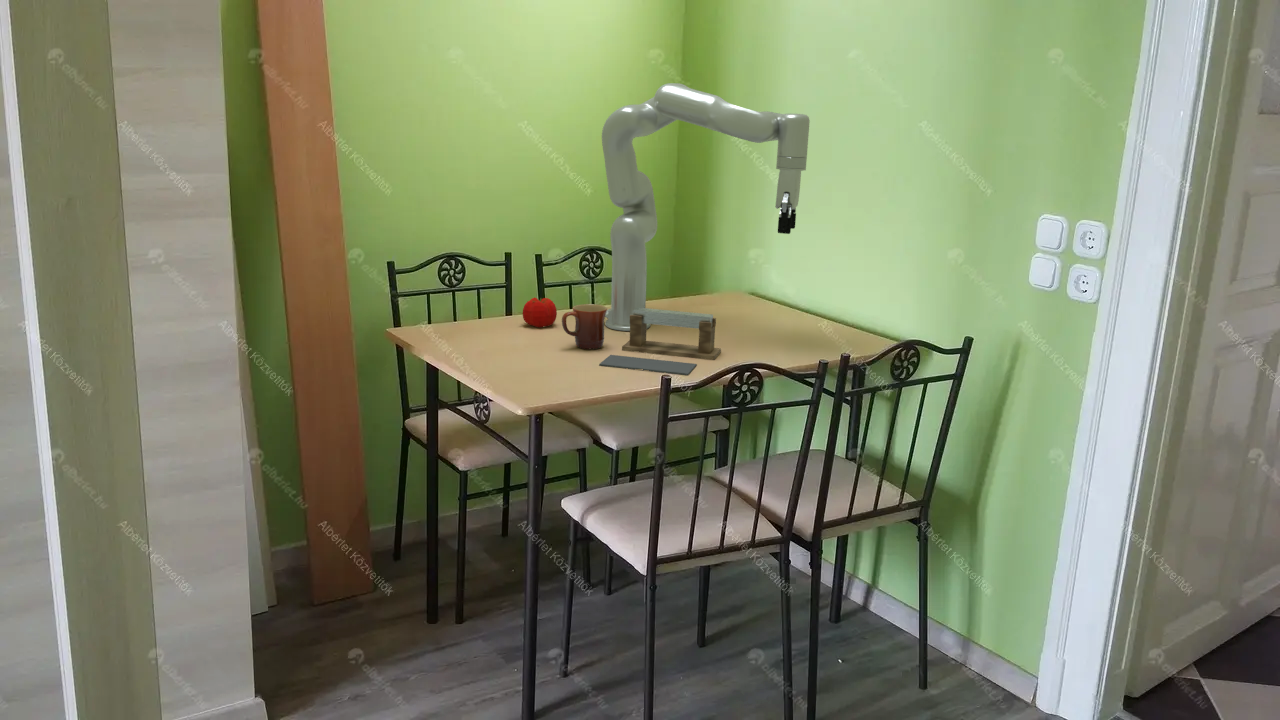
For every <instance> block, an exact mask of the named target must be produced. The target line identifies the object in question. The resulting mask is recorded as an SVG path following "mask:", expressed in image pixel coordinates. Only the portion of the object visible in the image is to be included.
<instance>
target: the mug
mask: <svg viewBox="0 0 1280 720" xmlns="http://www.w3.org/2000/svg"><path fill="white" fill-rule="evenodd" d="M607 310H608V307H607V306H606V305H601V304H593V303H586V304H585V303H583V304H577V305H574V306H573V307H572V311H568V312H567V311H566V312H565V313H564V314H563V315H562V317H561V325H562V329H563V331H564V332H565V333H566V334H567V335H569V336H572V337H574V342H575V345H576V346H577V348H579V349H581V350H589V351H591V350H593V351H594V350H598V349H600V348H602V347H603V346H604V342H605V341H604V340H605V318H606V317H605V315H606V312H607ZM570 316H572V317H574V319H575V326H574V330H573V331H572V330H569V328H568V325H567V318H568V317H570Z"/></svg>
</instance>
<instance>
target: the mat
mask: <svg viewBox="0 0 1280 720" xmlns="http://www.w3.org/2000/svg"><path fill="white" fill-rule="evenodd" d="M598 366H599V367H600V366H601V367H610V368H617V369H626V368H628V369H627V370H635V369H643V370H642V371H644V370H649V371H648V372H653V371H654V372H655V373H663V374H672V375H680V376H689V375H690V374H691V373H692V371H693V370H694V369H695V368H696V367H697V363H690V362H683V361H673V360H672V361H671V360H663V359H656V358H645V357H635V356H627V355H618V354H609V356H607V357H606V358H604V360H602V361H601V362H600V363H599V364H598ZM664 372H666V373H664Z"/></svg>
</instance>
